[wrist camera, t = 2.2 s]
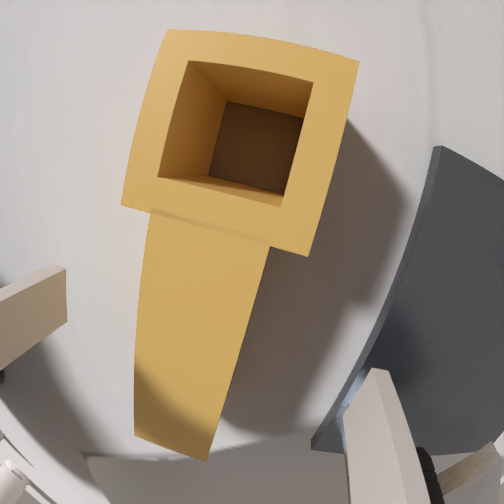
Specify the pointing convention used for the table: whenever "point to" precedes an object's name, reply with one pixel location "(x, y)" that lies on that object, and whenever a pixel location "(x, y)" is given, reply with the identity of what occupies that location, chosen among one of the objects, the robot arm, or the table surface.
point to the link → (218, 214)
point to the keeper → (465, 478)
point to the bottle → (11, 483)
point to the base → (442, 317)
